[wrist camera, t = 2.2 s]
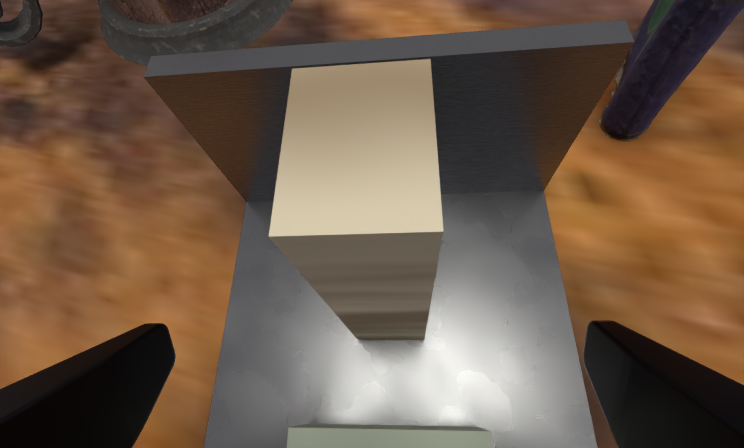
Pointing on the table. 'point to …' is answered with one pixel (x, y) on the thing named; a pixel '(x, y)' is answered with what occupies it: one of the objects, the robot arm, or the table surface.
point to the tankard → (163, 25)
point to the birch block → (363, 193)
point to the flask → (663, 60)
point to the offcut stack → (387, 436)
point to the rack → (457, 254)
